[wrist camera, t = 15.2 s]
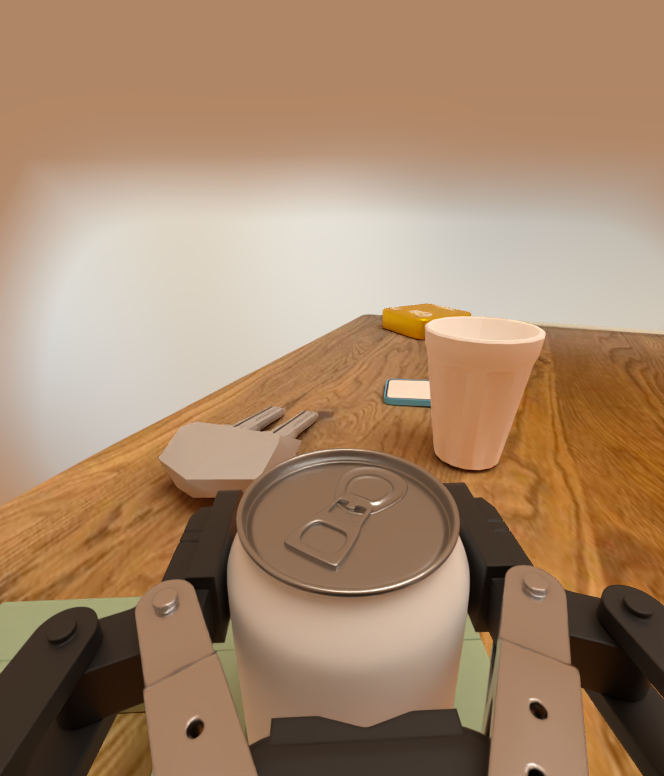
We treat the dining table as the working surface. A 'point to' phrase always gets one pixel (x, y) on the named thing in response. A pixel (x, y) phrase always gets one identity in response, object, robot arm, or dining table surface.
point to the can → (346, 590)
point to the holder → (20, 619)
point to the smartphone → (407, 392)
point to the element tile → (416, 318)
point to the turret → (231, 451)
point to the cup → (477, 384)
